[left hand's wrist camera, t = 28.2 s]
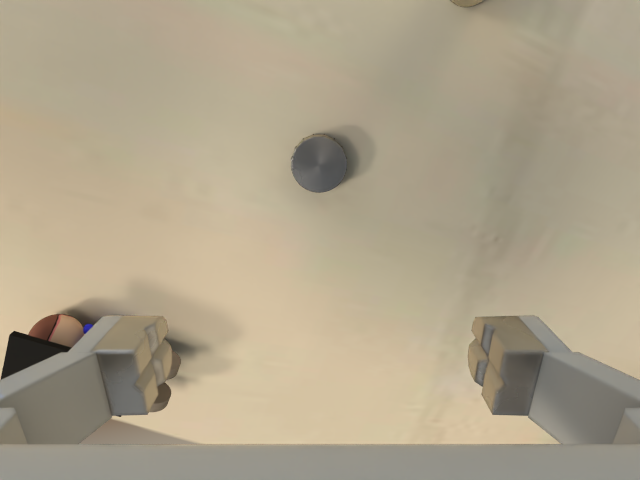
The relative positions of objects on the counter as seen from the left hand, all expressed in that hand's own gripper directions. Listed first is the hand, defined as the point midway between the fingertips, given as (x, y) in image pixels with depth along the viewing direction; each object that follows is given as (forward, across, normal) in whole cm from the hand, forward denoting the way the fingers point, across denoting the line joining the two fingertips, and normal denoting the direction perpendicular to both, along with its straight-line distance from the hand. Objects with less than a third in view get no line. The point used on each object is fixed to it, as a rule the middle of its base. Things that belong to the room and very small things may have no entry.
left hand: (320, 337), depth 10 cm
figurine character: (+28, -22, -20) cm, 40 cm away
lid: (+26, 0, 0) cm, 26 cm away
